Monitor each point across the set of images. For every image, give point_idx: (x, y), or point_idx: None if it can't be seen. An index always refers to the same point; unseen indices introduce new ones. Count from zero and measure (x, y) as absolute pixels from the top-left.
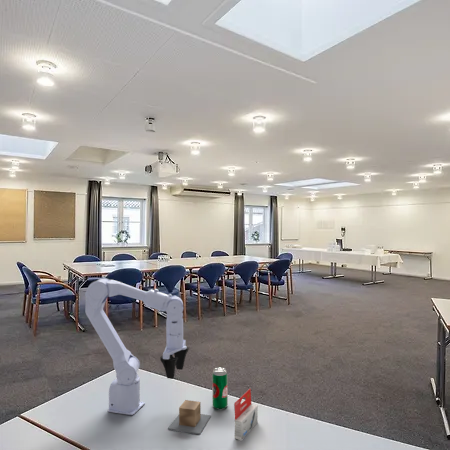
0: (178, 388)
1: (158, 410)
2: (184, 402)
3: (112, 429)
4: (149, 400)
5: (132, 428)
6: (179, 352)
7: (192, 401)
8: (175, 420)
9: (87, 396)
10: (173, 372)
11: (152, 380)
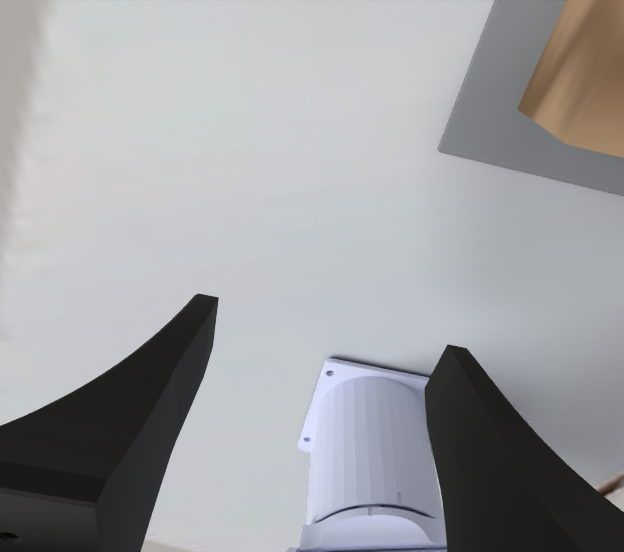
0: (103, 222)
1: (398, 284)
2: (616, 145)
3: (547, 418)
4: (286, 344)
5: (562, 357)
6: (135, 513)
7: (621, 66)
8: (559, 169)
9: (272, 529)
10: (504, 398)
11: (55, 372)
